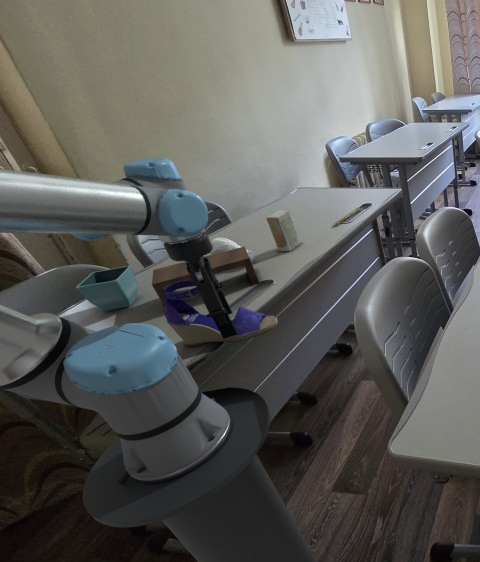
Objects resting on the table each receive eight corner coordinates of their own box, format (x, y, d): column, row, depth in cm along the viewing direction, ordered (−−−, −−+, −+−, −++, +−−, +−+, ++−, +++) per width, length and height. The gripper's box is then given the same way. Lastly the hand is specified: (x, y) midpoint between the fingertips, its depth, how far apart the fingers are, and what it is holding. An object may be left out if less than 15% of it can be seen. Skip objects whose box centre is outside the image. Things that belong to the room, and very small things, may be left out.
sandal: (272, 337, 92) (248, 281, 84) (177, 352, 89) (143, 296, 81) (281, 317, 99) (259, 264, 91) (193, 330, 96) (163, 276, 88)
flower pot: (94, 317, 103) (73, 287, 98) (110, 299, 110) (92, 271, 106) (134, 309, 105) (116, 280, 101) (147, 293, 112) (131, 265, 108)
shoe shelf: (166, 310, 104) (151, 284, 100) (167, 294, 111) (153, 269, 107) (259, 282, 115) (249, 258, 110) (254, 269, 122) (244, 246, 118)
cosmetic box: (289, 243, 138) (277, 209, 131) (300, 243, 137) (289, 209, 131) (277, 251, 132) (264, 217, 126) (289, 252, 132) (277, 217, 125)
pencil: (335, 227, 148) (360, 210, 163) (334, 224, 148) (360, 207, 162) (332, 227, 148) (357, 210, 163) (331, 224, 148) (357, 207, 163)
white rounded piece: (217, 233, 124) (254, 236, 124) (225, 257, 129) (261, 260, 128) (202, 242, 119) (241, 245, 118) (212, 267, 123) (249, 270, 123)
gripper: (209, 250, 75) (252, 342, 86) (203, 217, 91) (240, 298, 102) (160, 262, 71) (212, 356, 83) (163, 225, 87) (206, 309, 99)
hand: (227, 324), depth 92 cm, fingers open, 10 cm apart
